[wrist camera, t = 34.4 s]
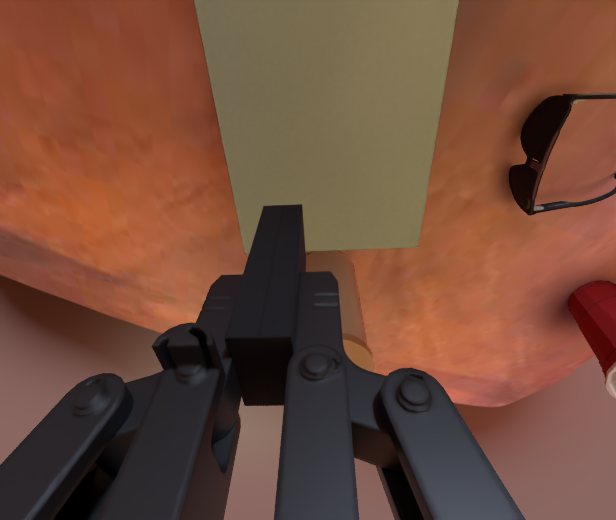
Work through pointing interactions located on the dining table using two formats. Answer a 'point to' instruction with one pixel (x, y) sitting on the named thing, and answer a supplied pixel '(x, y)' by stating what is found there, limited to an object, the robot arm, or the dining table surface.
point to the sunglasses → (545, 151)
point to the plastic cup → (598, 324)
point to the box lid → (330, 111)
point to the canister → (345, 304)
